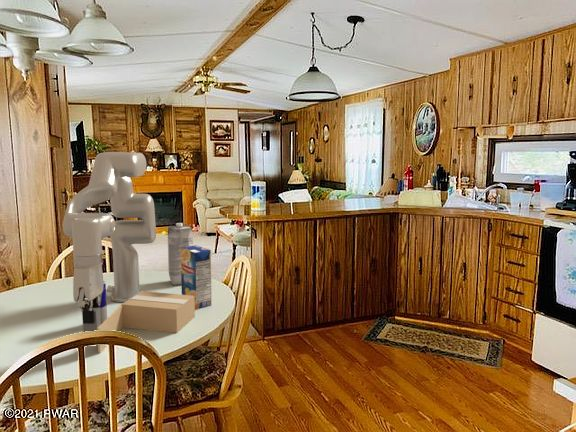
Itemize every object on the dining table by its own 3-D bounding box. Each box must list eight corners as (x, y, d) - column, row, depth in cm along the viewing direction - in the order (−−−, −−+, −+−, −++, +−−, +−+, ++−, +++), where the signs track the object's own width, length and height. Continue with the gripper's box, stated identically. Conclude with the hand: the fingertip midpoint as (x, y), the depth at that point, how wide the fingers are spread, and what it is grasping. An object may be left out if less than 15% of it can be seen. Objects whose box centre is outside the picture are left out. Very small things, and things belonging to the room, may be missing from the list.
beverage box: (196, 309, 164) (195, 252, 161) (181, 301, 172) (180, 247, 169) (211, 305, 169) (211, 250, 165) (196, 298, 177) (195, 245, 173)
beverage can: (106, 326, 147) (104, 284, 145) (88, 328, 146) (86, 285, 143) (108, 320, 152) (106, 279, 150) (91, 322, 151) (88, 280, 149)
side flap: (109, 326, 147) (107, 290, 145) (123, 326, 147) (121, 290, 145) (84, 352, 128) (82, 311, 126) (100, 352, 128) (98, 311, 126)
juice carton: (194, 284, 195) (193, 224, 191) (170, 286, 191) (168, 225, 187) (191, 278, 203) (190, 221, 199) (168, 280, 200) (166, 222, 195)
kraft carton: (122, 326, 147) (121, 303, 146) (144, 312, 161) (143, 290, 159) (177, 332, 143) (176, 309, 142) (194, 317, 157) (194, 295, 155)
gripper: (88, 253, 133) (91, 310, 136) (60, 267, 117) (64, 332, 120) (112, 253, 133) (115, 310, 136) (88, 267, 117) (92, 332, 120)
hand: (91, 320), depth 128 cm, fingers closed on side flap, 3 cm apart
